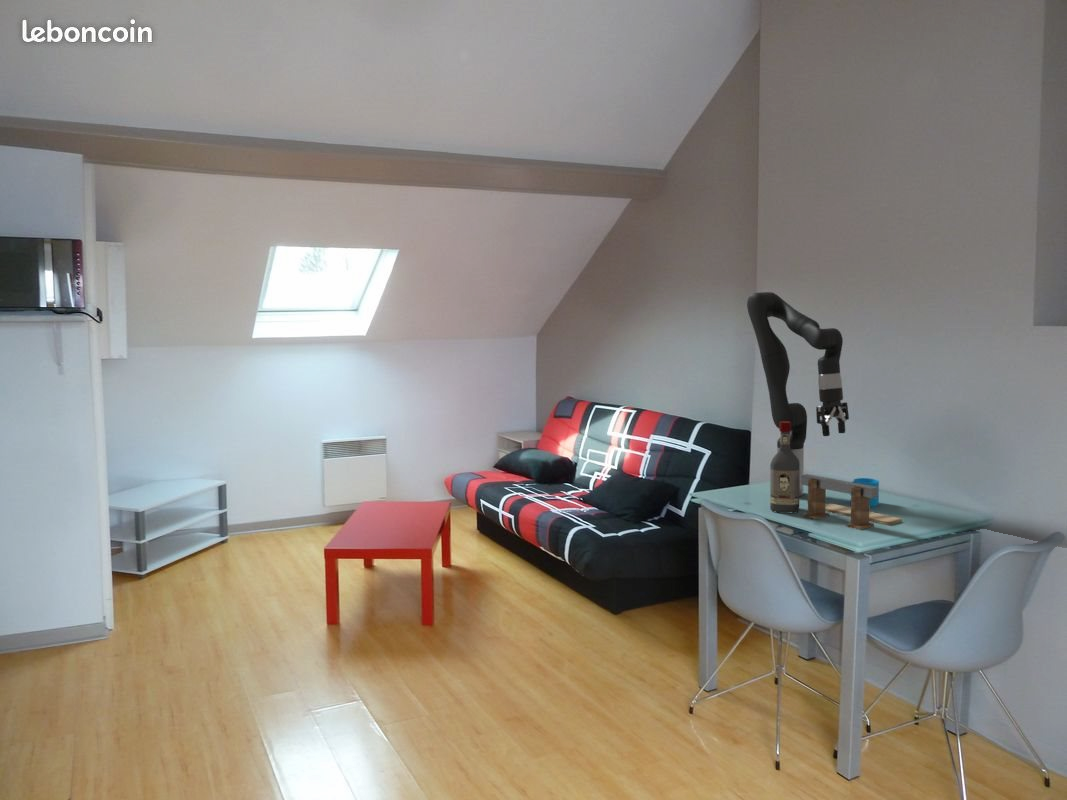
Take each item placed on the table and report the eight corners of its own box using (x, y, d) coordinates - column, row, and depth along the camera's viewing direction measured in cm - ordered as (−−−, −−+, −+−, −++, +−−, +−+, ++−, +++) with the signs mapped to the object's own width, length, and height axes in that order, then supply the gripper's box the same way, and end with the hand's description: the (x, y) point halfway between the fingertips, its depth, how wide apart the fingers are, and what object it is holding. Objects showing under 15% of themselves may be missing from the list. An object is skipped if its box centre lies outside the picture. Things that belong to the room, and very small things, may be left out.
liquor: (771, 506, 285) (771, 419, 281) (799, 507, 282) (800, 420, 278) (769, 512, 276) (770, 423, 273) (798, 514, 273) (799, 424, 270)
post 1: (803, 516, 270) (803, 479, 268) (817, 513, 274) (817, 476, 272) (816, 519, 266) (816, 481, 264) (829, 516, 269) (830, 478, 268)
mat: (818, 509, 278) (818, 506, 278) (831, 506, 282) (831, 503, 282) (888, 525, 256) (889, 522, 256) (902, 521, 260) (902, 518, 260)
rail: (801, 484, 272) (801, 475, 271) (807, 483, 273) (807, 474, 273) (872, 498, 250) (872, 488, 250) (877, 496, 252) (878, 487, 252)
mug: (884, 504, 282) (884, 481, 281) (865, 507, 279) (865, 483, 278) (858, 497, 293) (858, 475, 292) (839, 500, 290) (840, 477, 289)
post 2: (845, 526, 256) (846, 487, 255) (859, 522, 260) (860, 484, 259) (860, 529, 252) (860, 490, 251) (873, 525, 256) (874, 486, 255)
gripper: (833, 386, 288) (837, 432, 288) (807, 389, 280) (811, 436, 280) (852, 385, 282) (856, 432, 282) (826, 388, 274) (830, 437, 274)
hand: (834, 434), depth 281 cm, fingers open, 8 cm apart
